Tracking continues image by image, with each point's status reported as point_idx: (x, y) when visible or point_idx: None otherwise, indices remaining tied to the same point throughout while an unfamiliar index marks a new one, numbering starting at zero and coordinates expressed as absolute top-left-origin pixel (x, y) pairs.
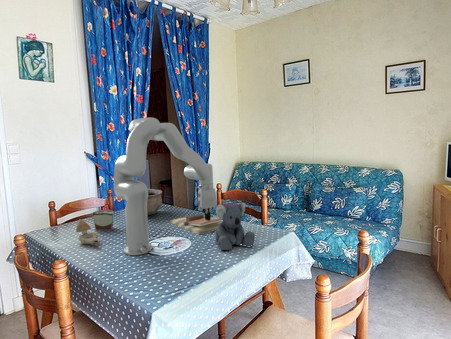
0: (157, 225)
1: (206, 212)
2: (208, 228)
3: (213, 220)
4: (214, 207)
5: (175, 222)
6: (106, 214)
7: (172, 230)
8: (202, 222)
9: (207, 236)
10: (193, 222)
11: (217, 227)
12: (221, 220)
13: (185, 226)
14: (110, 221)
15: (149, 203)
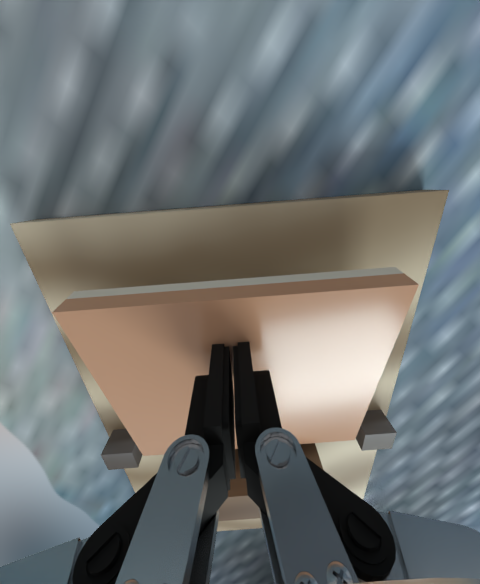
0: (427, 495)
1: (290, 450)
2: (296, 231)
3: (196, 298)
4: (23, 572)
5: (365, 483)
6: None
7: (452, 401)
8: (366, 302)
9: (412, 67)
10: (374, 390)
11: (190, 209)
12: (75, 294)
13: (390, 396)
14: None
15: None
